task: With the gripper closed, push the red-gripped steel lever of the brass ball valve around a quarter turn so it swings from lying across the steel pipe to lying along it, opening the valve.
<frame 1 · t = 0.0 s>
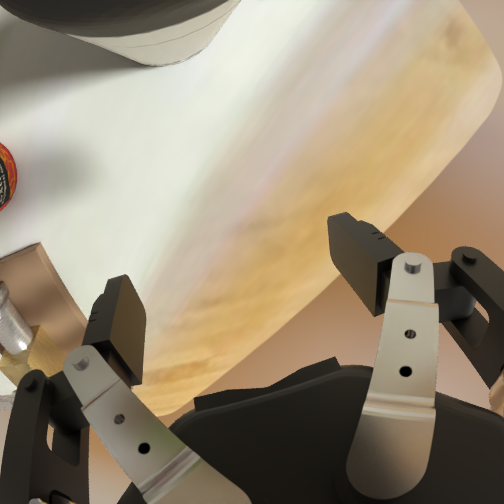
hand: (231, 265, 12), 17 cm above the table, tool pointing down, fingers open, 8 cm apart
walnut board: (41, 336, 32), on the table
valve body: (41, 336, 32), resting on walnut board
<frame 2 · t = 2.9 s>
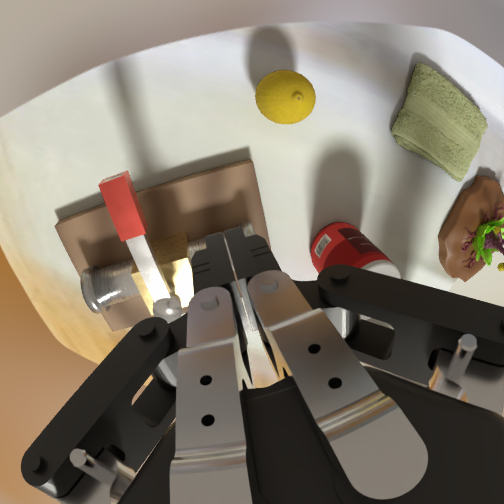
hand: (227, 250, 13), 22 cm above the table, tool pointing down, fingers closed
valve lever: (144, 256, 25), point 11 cm above the table, hinge at 0.0°
canned food: (333, 246, 42), on the table
walnut board: (169, 252, 37), on the table
washcloth: (438, 123, 36), on the table
lemon: (273, 96, 31), on the table
valve body: (169, 252, 37), resting on walnut board
plant: (471, 228, 47), on the table
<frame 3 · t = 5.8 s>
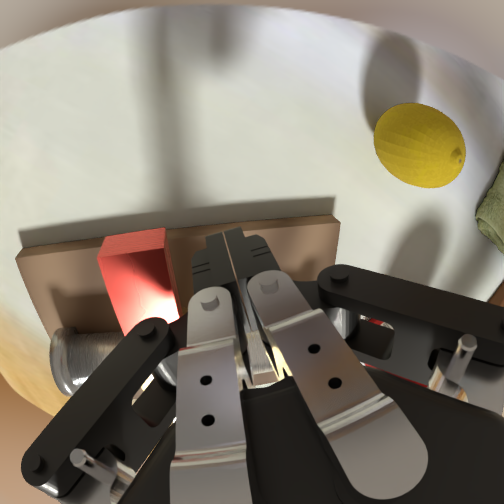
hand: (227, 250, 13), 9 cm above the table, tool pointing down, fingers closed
valve lever: (173, 379, 13), point 10 cm above the table, hinge at 2.1°, touching gripper
walnut board: (184, 322, 25), on the table
lemon: (382, 132, 21), on the table
valve body: (184, 322, 25), resting on walnut board
plant: (501, 309, 41), on the table
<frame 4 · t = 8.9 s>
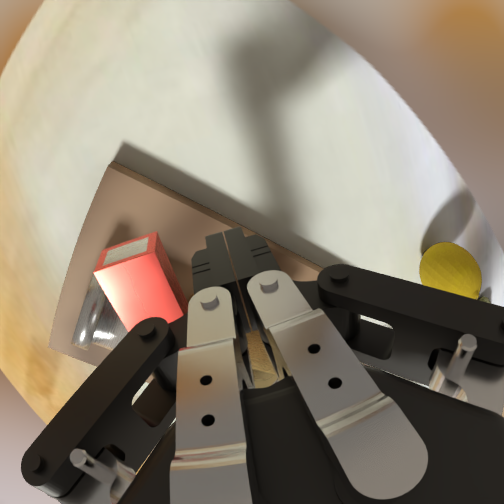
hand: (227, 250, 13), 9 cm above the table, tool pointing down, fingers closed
valve lever: (195, 378, 13), point 10 cm above the table, hinge at 46.4°, touching gripper
walnut board: (207, 319, 25), on the table
lemon: (423, 252, 28), on the table
valve body: (207, 319, 25), resting on walnut board
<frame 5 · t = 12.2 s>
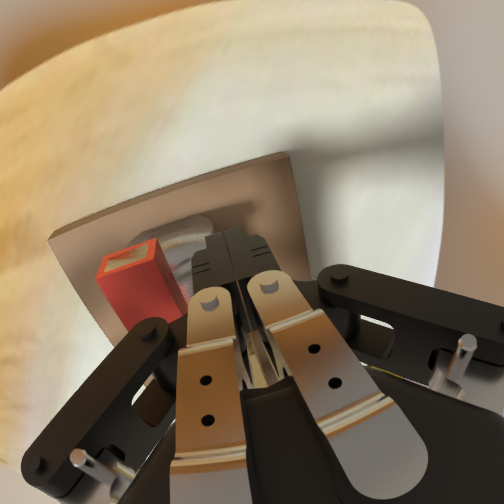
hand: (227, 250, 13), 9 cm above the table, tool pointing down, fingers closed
valve lever: (198, 380, 14), point 11 cm above the table, hinge at 90.3°
walnut board: (212, 320, 26), on the table
valve body: (212, 320, 26), resting on walnut board
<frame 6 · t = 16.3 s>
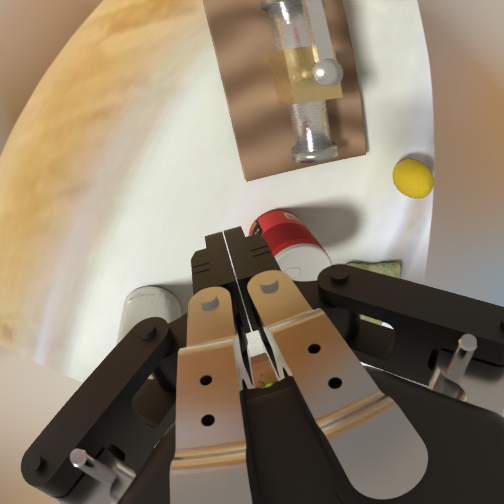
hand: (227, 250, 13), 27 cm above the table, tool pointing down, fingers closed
valve lever: (315, 16, 21), point 11 cm above the table, hinge at 90.4°
canned food: (274, 232, 44), on the table
walnut board: (291, 75, 33), on the table
washcloth: (358, 298, 55), on the table
lemon: (396, 170, 43), on the table
valve body: (291, 75, 33), resting on walnut board
plant: (267, 379, 62), on the table
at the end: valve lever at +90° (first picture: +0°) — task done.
